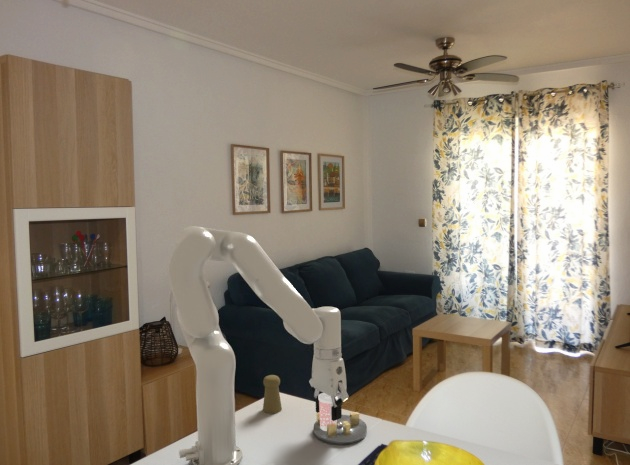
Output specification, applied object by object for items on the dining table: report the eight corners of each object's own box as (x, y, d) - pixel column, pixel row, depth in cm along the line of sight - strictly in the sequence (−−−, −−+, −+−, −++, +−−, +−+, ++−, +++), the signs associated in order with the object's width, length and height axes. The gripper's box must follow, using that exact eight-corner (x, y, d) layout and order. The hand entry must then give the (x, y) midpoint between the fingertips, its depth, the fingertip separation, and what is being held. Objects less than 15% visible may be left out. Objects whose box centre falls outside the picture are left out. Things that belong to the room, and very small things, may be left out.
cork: (270, 416, 155) (269, 381, 154) (258, 410, 159) (258, 376, 159) (285, 410, 159) (285, 376, 158) (273, 404, 164) (273, 371, 163)
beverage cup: (337, 422, 146) (338, 374, 145) (341, 432, 140) (342, 382, 138) (316, 423, 145) (316, 375, 144) (319, 433, 139) (320, 383, 138)
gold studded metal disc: (353, 416, 154) (353, 401, 153) (376, 439, 140) (376, 422, 139) (306, 425, 148) (306, 409, 148) (325, 449, 134) (325, 432, 134)
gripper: (359, 356, 136) (359, 421, 137) (318, 342, 149) (319, 401, 151) (338, 363, 131) (339, 430, 133) (297, 347, 144) (299, 408, 146)
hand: (328, 414), depth 142 cm, fingers closed on beverage cup, 6 cm apart
